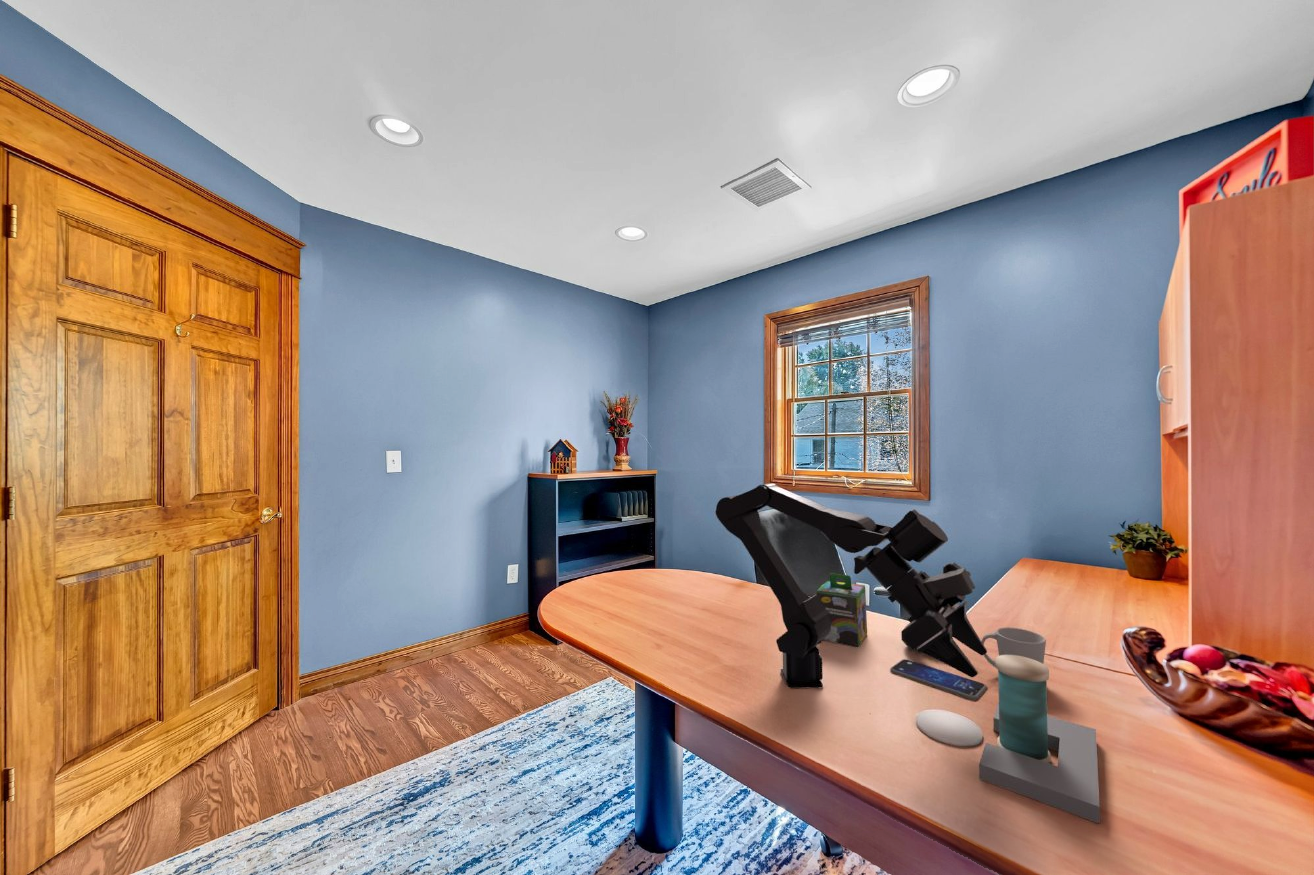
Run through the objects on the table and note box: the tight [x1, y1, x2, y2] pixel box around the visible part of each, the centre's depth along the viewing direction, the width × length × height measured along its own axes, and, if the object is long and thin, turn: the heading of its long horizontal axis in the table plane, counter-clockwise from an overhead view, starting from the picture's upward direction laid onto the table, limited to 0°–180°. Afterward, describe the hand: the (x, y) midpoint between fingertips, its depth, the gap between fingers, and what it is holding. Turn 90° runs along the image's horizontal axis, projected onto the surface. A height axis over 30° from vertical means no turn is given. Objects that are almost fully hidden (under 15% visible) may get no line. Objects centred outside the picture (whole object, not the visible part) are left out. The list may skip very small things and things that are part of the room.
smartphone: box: [889, 658, 988, 701], centre depth 92 cm, size 7×1×15 cm
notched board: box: [978, 701, 1101, 824], centre depth 69 cm, size 12×20×2 cm, turn 139°
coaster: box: [915, 708, 983, 747], centre depth 77 cm, size 9×9×1 cm
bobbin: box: [995, 655, 1052, 764], centre depth 70 cm, size 6×6×13 cm
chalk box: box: [815, 572, 868, 648], centre depth 113 cm, size 9×9×15 cm
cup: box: [981, 627, 1047, 668], centre depth 92 cm, size 8×10×8 cm
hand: (980, 664), depth 74 cm, fingers open, 9 cm apart
